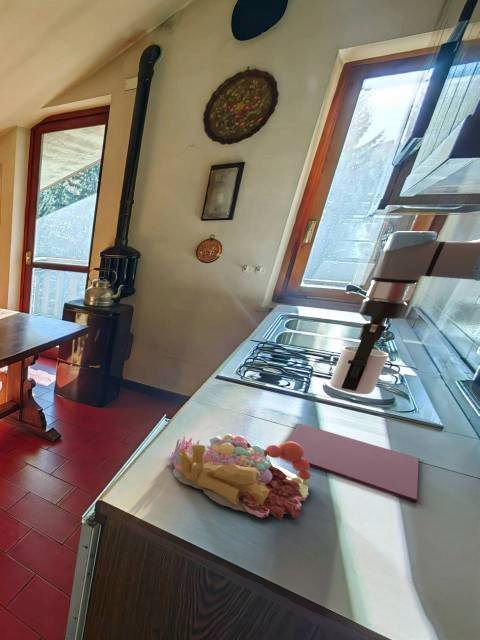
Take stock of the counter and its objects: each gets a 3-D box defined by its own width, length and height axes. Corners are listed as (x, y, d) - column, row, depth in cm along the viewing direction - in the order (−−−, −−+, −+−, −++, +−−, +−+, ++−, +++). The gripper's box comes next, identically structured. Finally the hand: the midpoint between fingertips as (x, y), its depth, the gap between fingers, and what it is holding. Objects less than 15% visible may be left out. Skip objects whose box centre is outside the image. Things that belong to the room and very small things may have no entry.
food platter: (296, 541, 65) (316, 497, 62) (153, 480, 80) (163, 442, 77) (311, 478, 82) (327, 440, 79) (190, 437, 97) (200, 404, 94)
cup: (327, 388, 101) (342, 350, 97) (331, 376, 109) (344, 341, 105) (372, 397, 95) (389, 358, 91) (372, 384, 103) (387, 347, 99)
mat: (417, 460, 89) (419, 458, 89) (415, 502, 75) (417, 499, 75) (298, 425, 104) (299, 423, 104) (278, 454, 90) (279, 452, 90)
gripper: (369, 292, 104) (339, 368, 112) (358, 303, 88) (325, 390, 97) (409, 296, 98) (375, 375, 107) (406, 308, 83) (366, 400, 91)
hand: (351, 383), depth 102 cm, fingers closed on cup, 12 cm apart
